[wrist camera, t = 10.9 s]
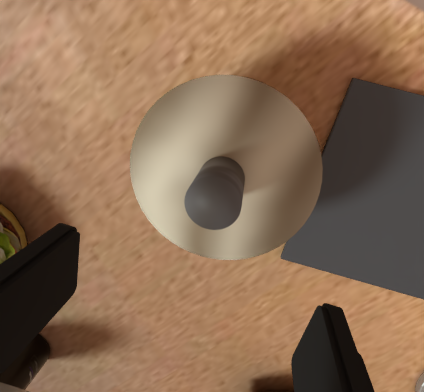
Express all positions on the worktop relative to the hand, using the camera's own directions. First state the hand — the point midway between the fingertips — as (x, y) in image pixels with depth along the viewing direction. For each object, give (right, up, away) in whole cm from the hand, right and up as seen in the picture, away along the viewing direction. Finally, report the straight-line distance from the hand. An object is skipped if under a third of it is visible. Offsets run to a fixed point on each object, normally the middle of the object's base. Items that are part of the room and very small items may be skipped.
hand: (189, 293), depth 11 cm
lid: (+2, +5, +13) cm, 14 cm away
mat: (+20, +3, +17) cm, 27 cm away
